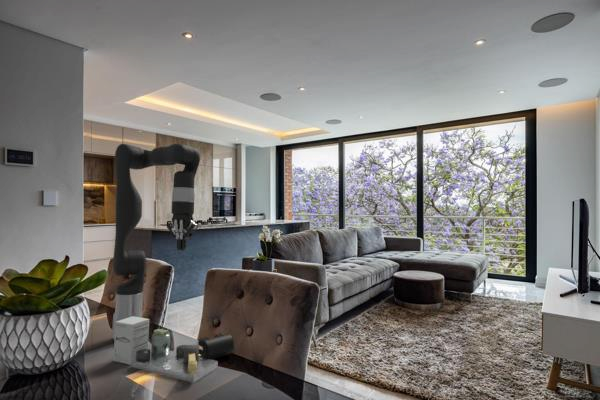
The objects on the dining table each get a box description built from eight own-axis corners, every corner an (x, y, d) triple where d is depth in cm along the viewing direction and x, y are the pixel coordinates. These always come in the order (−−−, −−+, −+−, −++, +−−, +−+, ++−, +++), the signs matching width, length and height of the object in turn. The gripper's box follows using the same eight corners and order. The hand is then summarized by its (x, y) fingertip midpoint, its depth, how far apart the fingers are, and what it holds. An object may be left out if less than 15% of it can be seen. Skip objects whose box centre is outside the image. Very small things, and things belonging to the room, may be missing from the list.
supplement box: (112, 361, 107) (114, 321, 108) (131, 353, 114) (133, 315, 115) (130, 365, 105) (132, 324, 105) (148, 356, 111) (150, 318, 112)
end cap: (207, 365, 106) (208, 343, 107) (196, 358, 111) (197, 337, 111) (234, 356, 113) (234, 336, 114) (222, 350, 118) (223, 331, 119)
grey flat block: (131, 366, 104) (132, 336, 104) (161, 353, 115) (162, 325, 115) (193, 383, 94) (194, 349, 95) (219, 366, 105) (220, 336, 106)
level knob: (183, 358, 105) (183, 345, 105) (198, 357, 106) (198, 344, 107) (184, 376, 93) (184, 361, 94) (200, 374, 95) (201, 359, 95)
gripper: (161, 200, 118) (158, 249, 117) (190, 200, 113) (188, 252, 112) (176, 201, 125) (174, 248, 124) (205, 201, 120) (203, 250, 119)
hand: (181, 250), depth 118 cm, fingers closed
